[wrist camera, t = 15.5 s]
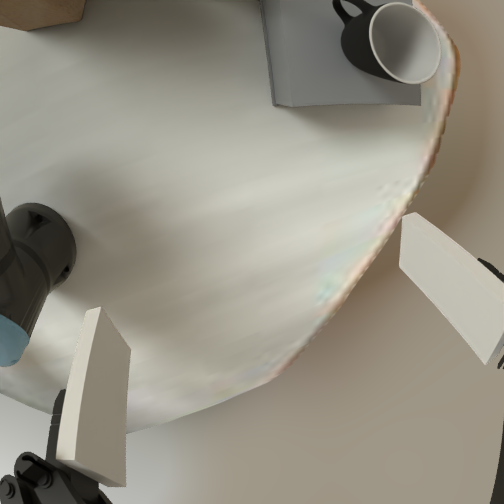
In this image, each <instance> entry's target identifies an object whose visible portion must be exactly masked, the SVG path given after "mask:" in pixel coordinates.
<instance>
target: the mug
mask: <svg viewBox="0 0 504 504" xmlns="http://www.w3.org/2000/svg"><path fill="white" fill-rule="evenodd" d="M343 1H347V2H349V3H351V4H353V5H355V6H356V7H358V8H359V9H360V10H361V11H362V13H361V14H359V15H358V16H356V17H353V16H351V15H349V14H348V13H347V12H346V11H345V9H344V8H343V6H342V4H341V1H340V0H332V5H333V8H334V10H335V12H336V13H337V14H338V16H339V17H340V18H341V20H342V21H343V23H344V29H343V31H342V34H341V47H342V51H343V53H344V55H345V56H346V58H347V59H348V61H349V62H350V63H351V64H353V65H354V66H355V67H357V68H358V69H360V70H362V71H364V72H366V73H368V74H371V75H373V76H376V77H379V78H383V79H386V80H390V81H394V82H398V83H403V84H412V85H413V84H421V83H424V82H426V81H428V80H429V79H430V78H432V77H433V75H434V74H435V73H436V71H437V69H438V67H439V65H440V61H441V43H440V39H439V36H438V33H437V31H436V29H435V27H434V26H433V24H432V23H431V21H430V20H429V19H428V18H427V17H426V15H425V14H423V13H422V12H421V11H420V10H418V9H417V8H415V7H413V6H411V5H409V4H406V3H401V2H391V3H386V4H382V5H379V6H373V5H371V4H369V3H368V2H366V1H364V0H343Z"/></svg>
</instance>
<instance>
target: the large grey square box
mask: <svg viewBox="0 0 504 504" xmlns="http://www.w3.org/2000/svg"><path fill="white" fill-rule="evenodd" d="M340 1H341V4H342V6H343V8H344V9H345V11H346V12H347V13H348V14H349V15H351V16H353V17H356V16H358V15H359V14H361V13H362V11H361V10H360V9H359V8H358V7H356V6H355V5H353V4H351V3H349V2H347V1H343V0H340ZM364 1H366V2H368V3H369V4H371V5H373V6H379V5H382V4H386V3H391V2H401V3H406V4H409V5H411V6H413V4H412V0H364ZM259 2H260V9H261V16H262V23H263V30H264V38H265V45H266V53H267V61H268V69H269V77H270V86H271V95H272V104H273V106H279V105H285V106H290V107H300V106H314V105H334V104H400V105H419V106H421V90H420V84H413V85H412V84H403V83H398V82H394V81H390V80H386V79H383V78H379V77H376V76H373V75H371V74H368V73H366V72H364V71H362V70H360V69H358V68H357V67H355V66H354V65H353V64H351V63H350V62H349V61H348V59H347V58H346V56H345V55H344V53H343V51H342V47H341V34H342V31H343V29H344V23H343V21H342V20H341V18H340V17H339V16H338V14H337V13H336V12H335V10H334V8H333V5H332V0H259Z"/></svg>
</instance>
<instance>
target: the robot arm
mask: <svg viewBox="0 0 504 504" xmlns="http://www.w3.org/2000/svg"><path fill="white" fill-rule="evenodd" d="M75 259H76V245H75V240H74V237H73V235H72V232H71V230H70V228H69V227H68V225H67V224H66V222H65V221H64V220H63V219H62V218H61V217H60V216H59V215H58V214H57V213H56V212H55V211H53V210H52V209H50V208H48V207H46V206H44V205H41V204H37V203H26V204H22V205H19V206H18V207H16V208H15V209H13V210H12V211H11V212H10V213H9V214H8V215H7V216H6V217H5V214H4V210H3V206H2V202H1V198H0V367H7V366H11V365H14V364H15V363H17V362H18V361H19V359H20V358H21V356H22V353H23V351H24V349H25V347H26V346H27V345H28V344H29V340H30V337H31V334H32V332H33V329H34V326H35V324H36V321H37V319H38V317H39V314H40V312H41V309H42V307H43V305H44V302H45V300H46V298H47V296H48V294H49V293H51V292H52V291H53V290H54V289H56V288H57V287H58V286H60V285H61V284H62V283H63V282H64V281H65V280H66V279H67V278H68V276H69V274H70V272H71V270H72V268H73V266H74V263H75ZM399 267H400V268H401V269H402V270H403V271H404V273H405V274H406V275H407V276H408V277H409V278H410V279H411V280H412V281H413V282H414V283H415V284H416V285H417V286H418V287H419V288H420V289H421V290H422V291H423V293H424V294H425V295H426V296H427V297H428V298H429V299H430V300H431V301H432V302H433V304H434V305H435V306H436V307H437V308H438V309H439V310H440V311H441V312H442V313H443V315H444V316H445V317H446V318H447V319H448V320H449V322H450V323H451V324H452V325H453V326H454V328H455V329H456V330H457V331H458V332H459V333H460V334H461V336H462V337H463V338H464V339H465V341H466V342H467V343H468V344H469V346H470V347H471V348H472V349H473V350H474V352H475V353H476V354H477V356H478V357H479V358H480V359H481V361H482V362H483V363H484V364H485V365H486V364H487V363H489V362H490V361H491V360H493V359H494V358H495V357H497V356H498V354H499V352H500V350H501V349H502V347H503V345H504V275H503V274H502V273H499V271H498V270H497V269H496V268H495V267H494V266H493V265H491V264H490V263H488V262H486V261H484V260H482V259H480V258H478V259H475V258H474V257H473V256H472V255H471V254H469V253H468V252H467V251H466V250H465V249H463V248H462V247H461V246H460V245H458V244H457V243H456V242H455V241H453V240H452V239H451V238H450V237H448V236H447V235H446V234H444V233H443V232H442V231H440V230H439V229H438V228H437V227H435V226H434V225H432V224H431V223H429V222H428V221H427V220H426V219H424V218H423V217H422V216H420V215H419V214H417V213H416V212H414V213H411V214H408V215H405V216H402V235H401V248H400V260H399ZM130 354H131V349H130V347H129V346H128V345H127V343H126V342H125V340H124V339H123V338H122V336H121V335H120V333H119V332H118V330H117V329H116V328H115V326H114V325H113V323H112V322H111V320H110V319H109V317H108V316H107V314H106V313H105V311H104V310H103V308H102V307H97V308H94V309H90V310H87V311H86V314H85V318H84V321H83V324H82V328H81V331H80V335H79V339H78V342H77V346H76V350H75V354H74V358H73V362H72V366H71V370H70V375H69V379H68V384H67V389H64V390H61V391H60V393H59V395H58V396H57V398H56V400H55V403H54V408H53V416H52V420H51V426H50V431H49V438H48V445H47V453H46V459H45V460H43V459H42V458H40V457H38V456H37V455H35V454H34V453H31V452H24V453H22V454H21V455H20V456H19V457H18V458H17V460H16V463H15V466H14V475H15V477H14V476H11V475H5V476H4V477H3V478H2V479H1V481H0V501H1V504H112V503H111V501H110V500H109V499H108V498H107V496H106V495H105V494H104V493H103V492H102V491H101V490H100V489H99V488H98V487H99V483H101V484H103V485H105V486H107V487H126V457H125V456H126V448H125V447H126V410H127V391H128V377H129V365H130ZM503 362H504V355H503V357H502V358H501V360H500V362H499V363H498V369H500V367H501V366H502V364H503ZM503 369H504V367H503ZM490 504H504V424H503V434H502V443H501V451H500V458H499V464H498V469H497V475H496V480H495V484H494V489H493V493H492V497H491V501H490Z"/></svg>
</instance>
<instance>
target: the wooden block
mask: <svg viewBox="0 0 504 504" xmlns="http://www.w3.org/2000/svg"><path fill="white" fill-rule="evenodd" d="M85 2H86V0H0V26H4V27H9V28H13V29H18V30H22V31H28V30H32V29H37V28H41V27H46V26H52V25H57V24H63V23H70V22H77V21H80V20H81V19H82V14H83V10H84V6H85Z"/></svg>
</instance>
